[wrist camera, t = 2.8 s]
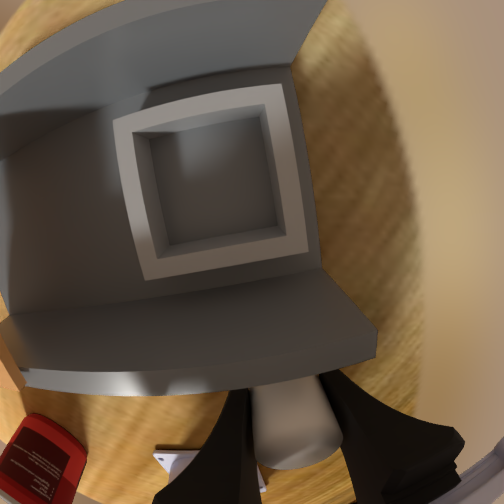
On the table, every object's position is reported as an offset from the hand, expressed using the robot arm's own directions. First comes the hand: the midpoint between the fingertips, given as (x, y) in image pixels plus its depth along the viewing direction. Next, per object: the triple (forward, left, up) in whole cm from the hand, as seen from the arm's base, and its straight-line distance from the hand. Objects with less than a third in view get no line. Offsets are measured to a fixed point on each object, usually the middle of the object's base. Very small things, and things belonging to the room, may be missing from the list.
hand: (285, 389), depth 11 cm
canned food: (-10, +23, -3) cm, 25 cm away
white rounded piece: (0, 0, -2) cm, 2 cm away
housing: (+9, +7, -3) cm, 12 cm away
